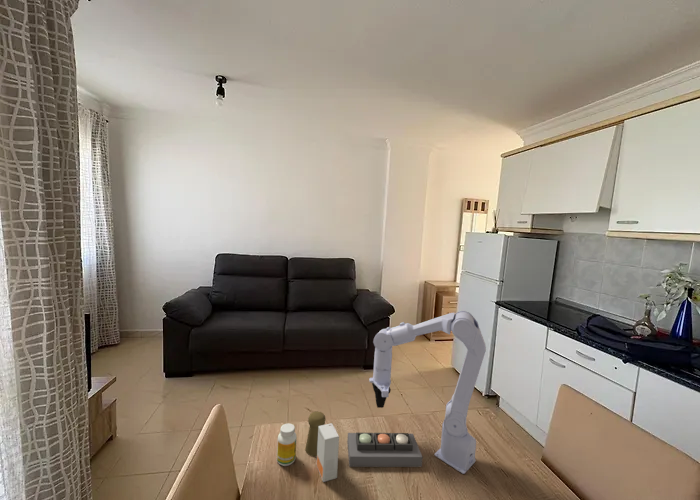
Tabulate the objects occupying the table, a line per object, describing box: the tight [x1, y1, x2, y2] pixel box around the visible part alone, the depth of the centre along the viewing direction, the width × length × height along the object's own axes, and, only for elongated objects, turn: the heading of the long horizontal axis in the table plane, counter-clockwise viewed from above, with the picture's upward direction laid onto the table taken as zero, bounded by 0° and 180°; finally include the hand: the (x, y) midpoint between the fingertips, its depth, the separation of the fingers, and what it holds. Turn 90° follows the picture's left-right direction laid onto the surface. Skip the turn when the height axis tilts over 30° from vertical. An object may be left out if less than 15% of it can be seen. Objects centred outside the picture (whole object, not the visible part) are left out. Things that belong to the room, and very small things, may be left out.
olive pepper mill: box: [304, 410, 326, 457], centre depth 91 cm, size 6×6×11 cm
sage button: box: [359, 434, 371, 443], centre depth 90 cm, size 4×4×2 cm
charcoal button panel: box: [346, 432, 423, 468], centre depth 91 cm, size 21×10×5 cm, turn 94°
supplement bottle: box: [276, 422, 298, 467], centre depth 86 cm, size 5×5×10 cm
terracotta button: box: [378, 434, 390, 444], centre depth 91 cm, size 4×4×2 cm
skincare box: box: [315, 422, 340, 483], centre depth 82 cm, size 6×4×12 cm
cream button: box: [396, 434, 408, 444], centre depth 91 cm, size 4×4×2 cm
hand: (379, 406), depth 99 cm, fingers closed
